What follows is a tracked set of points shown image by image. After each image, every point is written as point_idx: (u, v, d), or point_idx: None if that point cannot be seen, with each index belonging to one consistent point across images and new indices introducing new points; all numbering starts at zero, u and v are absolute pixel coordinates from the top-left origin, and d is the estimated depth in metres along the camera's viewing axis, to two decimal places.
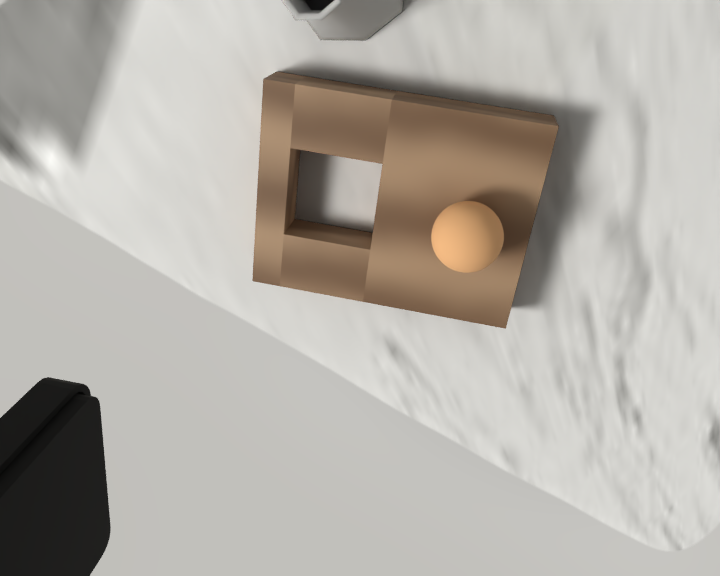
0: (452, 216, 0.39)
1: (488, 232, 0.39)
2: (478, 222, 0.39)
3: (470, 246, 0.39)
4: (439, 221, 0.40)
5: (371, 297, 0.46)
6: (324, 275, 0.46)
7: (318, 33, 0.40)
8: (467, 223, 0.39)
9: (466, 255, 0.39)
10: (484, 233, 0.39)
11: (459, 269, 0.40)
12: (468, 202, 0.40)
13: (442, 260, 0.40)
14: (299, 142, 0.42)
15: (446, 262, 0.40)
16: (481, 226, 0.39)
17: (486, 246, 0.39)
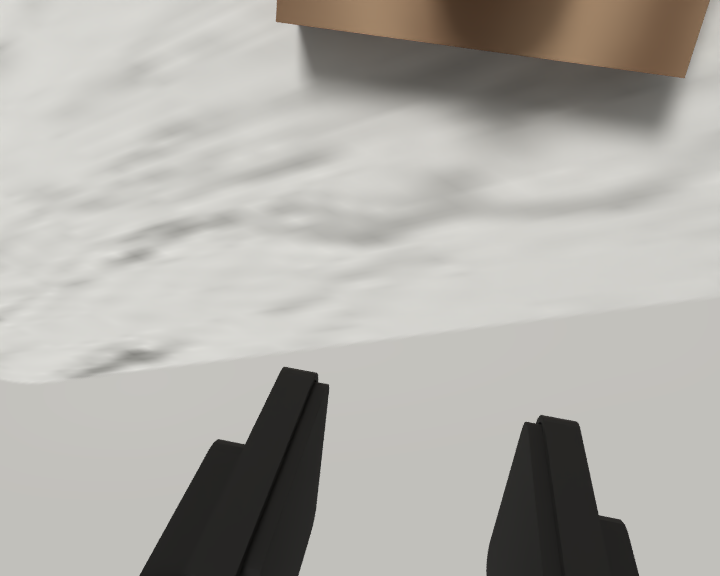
0: None
1: None
2: None
3: None
4: None
5: None
6: None
7: None
8: None
9: None
10: None
11: None
12: None
13: None
14: None
15: None
16: None
17: None
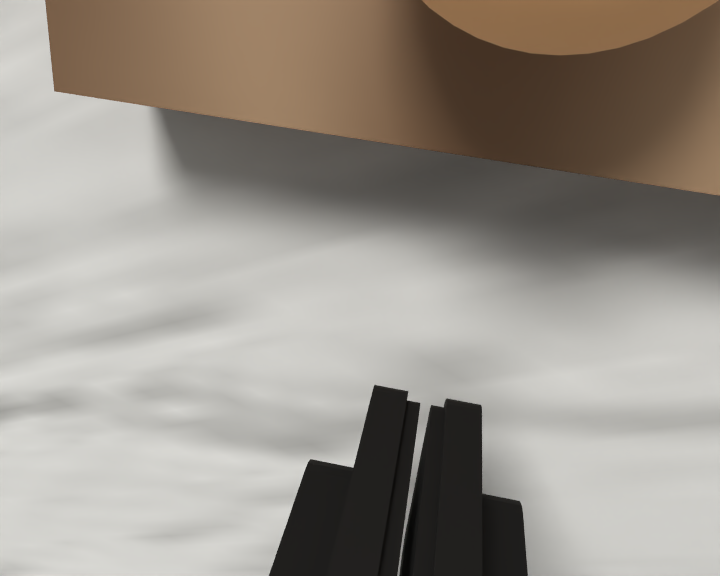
0: None
1: None
2: None
3: None
4: None
5: None
6: None
7: None
8: None
9: None
10: None
11: None
12: None
13: None
14: None
15: None
16: None
17: None
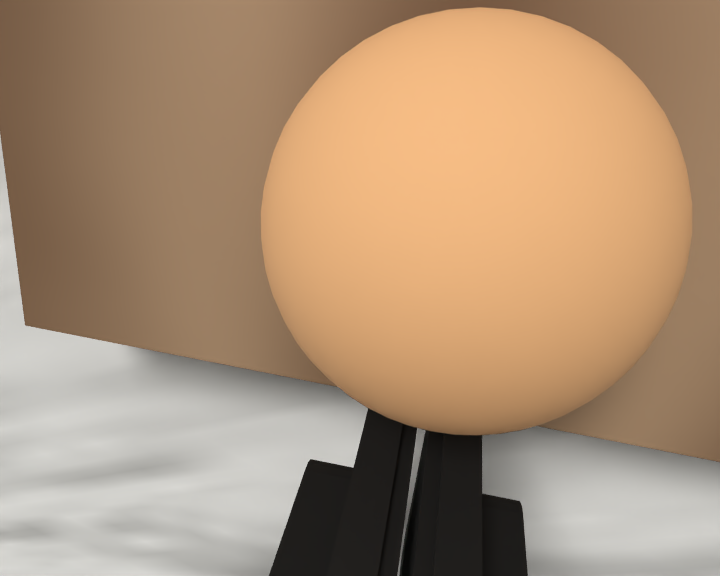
0: (671, 173, 0.06)
1: (560, 411, 0.06)
2: (632, 352, 0.06)
3: (496, 347, 0.05)
4: (614, 74, 0.06)
5: None
6: None
7: None
8: (642, 299, 0.06)
9: (421, 324, 0.05)
10: (563, 401, 0.06)
11: (297, 250, 0.06)
12: None
13: (339, 120, 0.06)
14: None
15: (333, 155, 0.06)
16: (606, 376, 0.06)
17: (477, 419, 0.06)
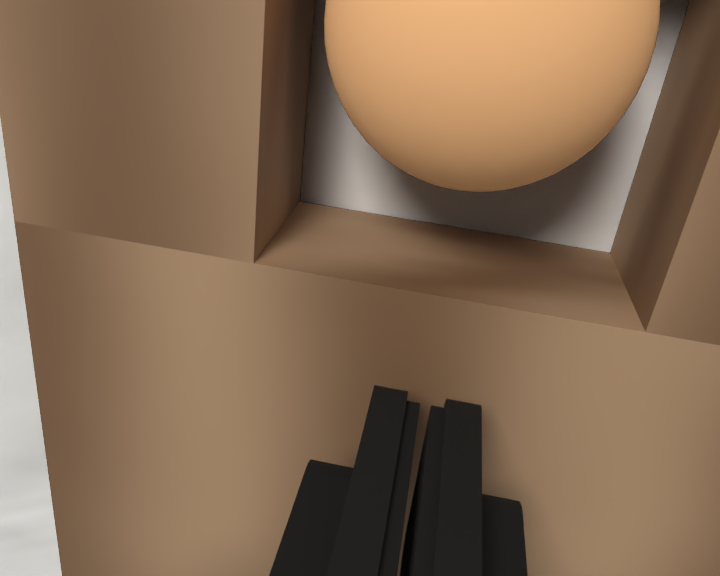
0: None
1: None
2: None
3: None
4: None
5: (44, 257, 0.11)
6: (85, 46, 0.09)
7: None
8: None
9: None
10: None
11: (471, 173, 0.08)
12: None
13: (561, 163, 0.09)
14: None
15: (537, 173, 0.09)
16: None
17: None
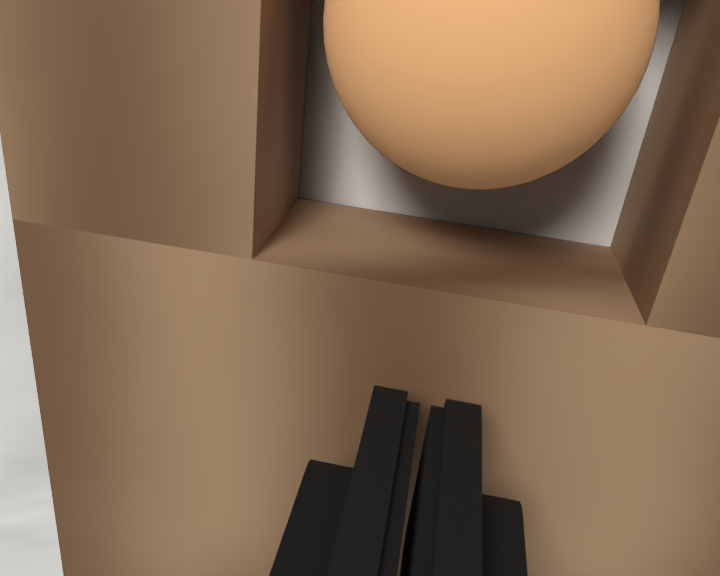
0: None
1: None
2: None
3: None
4: None
5: (43, 255, 0.11)
6: (82, 42, 0.09)
7: None
8: None
9: None
10: None
11: (473, 173, 0.09)
12: None
13: (561, 160, 0.09)
14: None
15: (538, 171, 0.09)
16: None
17: None
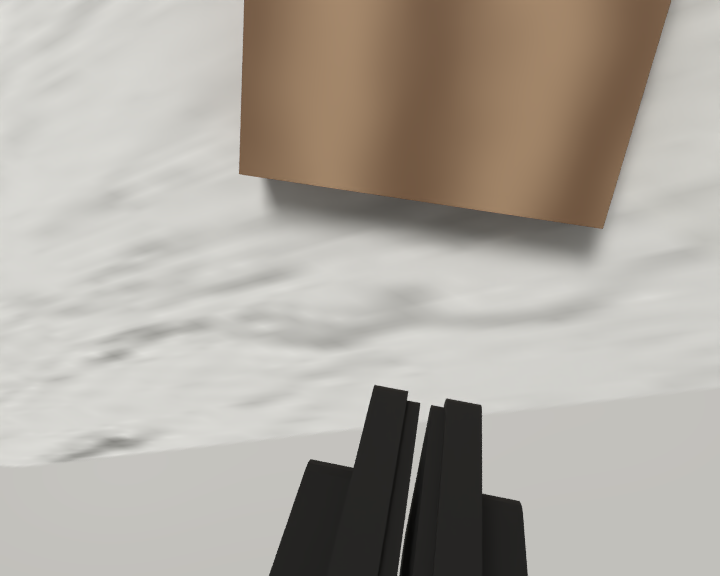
0: None
1: None
2: None
3: None
4: None
5: None
6: None
7: None
8: None
9: None
10: None
11: None
12: None
13: None
14: None
15: None
16: None
17: None
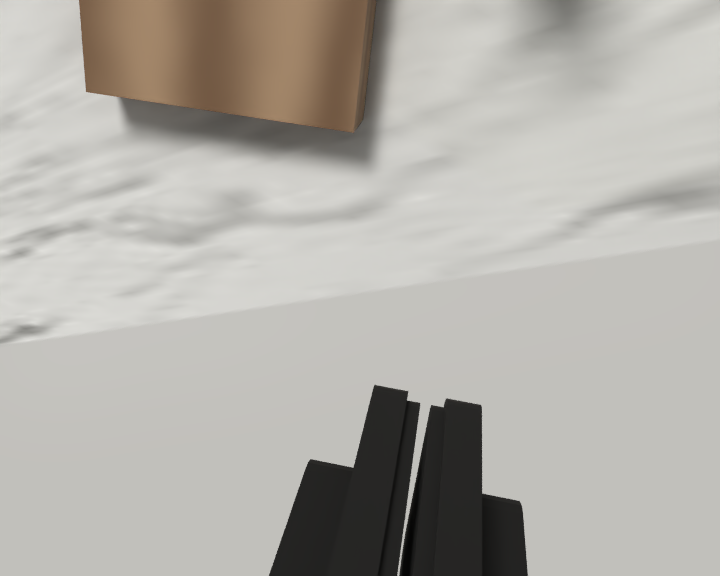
0: None
1: None
2: None
3: None
4: None
5: None
6: None
7: None
8: None
9: None
10: None
11: None
12: None
13: None
14: None
15: None
16: None
17: None
